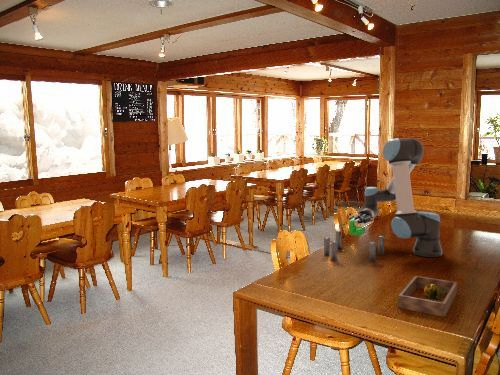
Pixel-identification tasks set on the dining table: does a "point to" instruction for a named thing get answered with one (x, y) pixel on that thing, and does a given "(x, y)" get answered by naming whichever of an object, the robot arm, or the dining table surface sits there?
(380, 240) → the spacer posts
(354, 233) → the mechanical part
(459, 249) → the dining table surface
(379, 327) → the dining table surface
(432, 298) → the christmas decoration
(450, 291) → the wooden tray
